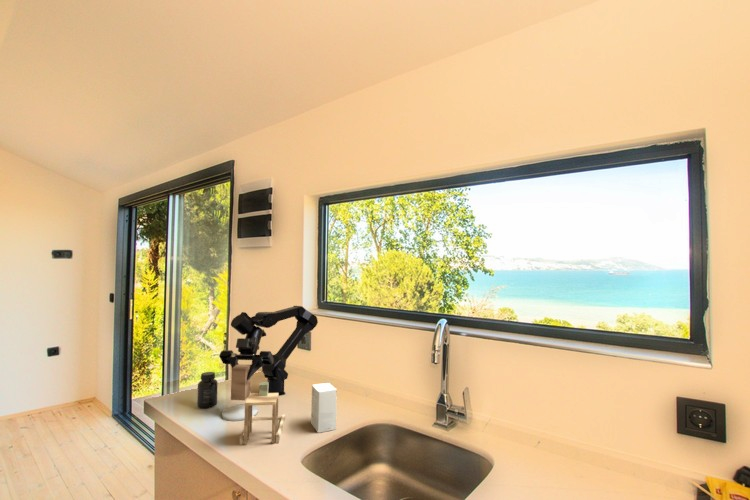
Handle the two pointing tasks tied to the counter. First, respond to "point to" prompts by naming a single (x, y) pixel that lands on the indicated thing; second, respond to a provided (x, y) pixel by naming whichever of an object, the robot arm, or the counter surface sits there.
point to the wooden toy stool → (261, 399)
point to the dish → (237, 412)
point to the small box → (323, 407)
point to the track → (267, 419)
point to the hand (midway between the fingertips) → (240, 379)
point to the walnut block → (240, 382)
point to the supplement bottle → (207, 391)
